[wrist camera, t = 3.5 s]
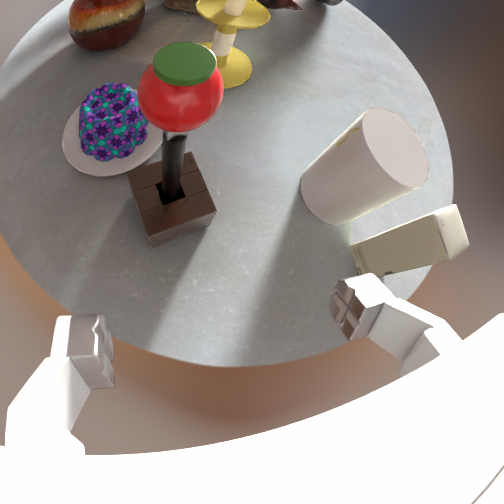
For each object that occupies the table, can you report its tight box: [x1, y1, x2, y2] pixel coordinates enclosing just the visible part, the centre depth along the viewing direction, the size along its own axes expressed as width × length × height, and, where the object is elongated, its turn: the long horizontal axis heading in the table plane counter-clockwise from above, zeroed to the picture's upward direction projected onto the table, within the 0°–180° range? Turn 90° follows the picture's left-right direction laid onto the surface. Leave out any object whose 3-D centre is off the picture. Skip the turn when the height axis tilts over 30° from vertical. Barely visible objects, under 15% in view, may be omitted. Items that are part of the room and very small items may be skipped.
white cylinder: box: [301, 107, 429, 225], centre depth 27 cm, size 8×8×12 cm
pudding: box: [62, 83, 163, 176], centre depth 24 cm, size 12×12×5 cm
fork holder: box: [127, 152, 217, 248], centre depth 25 cm, size 6×6×4 cm
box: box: [349, 204, 469, 277], centre depth 27 cm, size 5×4×13 cm
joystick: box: [137, 42, 224, 205], centre depth 18 cm, size 4×4×19 cm
